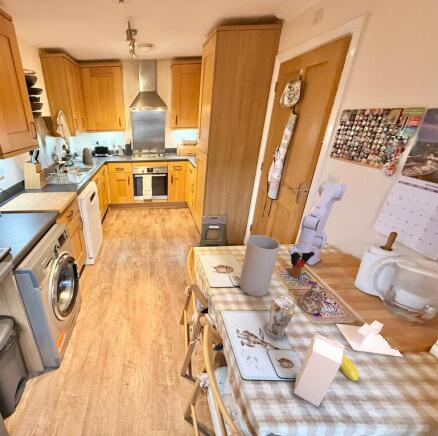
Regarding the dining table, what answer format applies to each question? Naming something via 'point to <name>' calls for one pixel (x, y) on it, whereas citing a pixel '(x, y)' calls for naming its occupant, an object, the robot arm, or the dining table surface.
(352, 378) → the lemon
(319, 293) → the figurine
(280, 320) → the beer glass
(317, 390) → the milk
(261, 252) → the cylinder vase
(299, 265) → the spice lid
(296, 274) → the spice jar
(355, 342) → the napkin holder
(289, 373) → the dining table surface
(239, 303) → the dining table surface
